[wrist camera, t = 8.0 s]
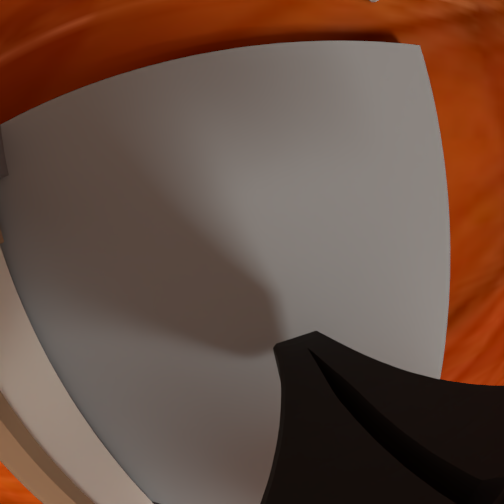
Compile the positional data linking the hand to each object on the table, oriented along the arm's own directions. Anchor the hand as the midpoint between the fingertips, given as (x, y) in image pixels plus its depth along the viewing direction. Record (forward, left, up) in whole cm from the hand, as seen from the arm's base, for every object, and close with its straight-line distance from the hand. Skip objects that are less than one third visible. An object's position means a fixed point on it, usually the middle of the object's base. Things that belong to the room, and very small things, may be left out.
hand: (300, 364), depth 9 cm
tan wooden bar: (0, +8, -1) cm, 8 cm away
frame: (-1, +2, -2) cm, 3 cm away
